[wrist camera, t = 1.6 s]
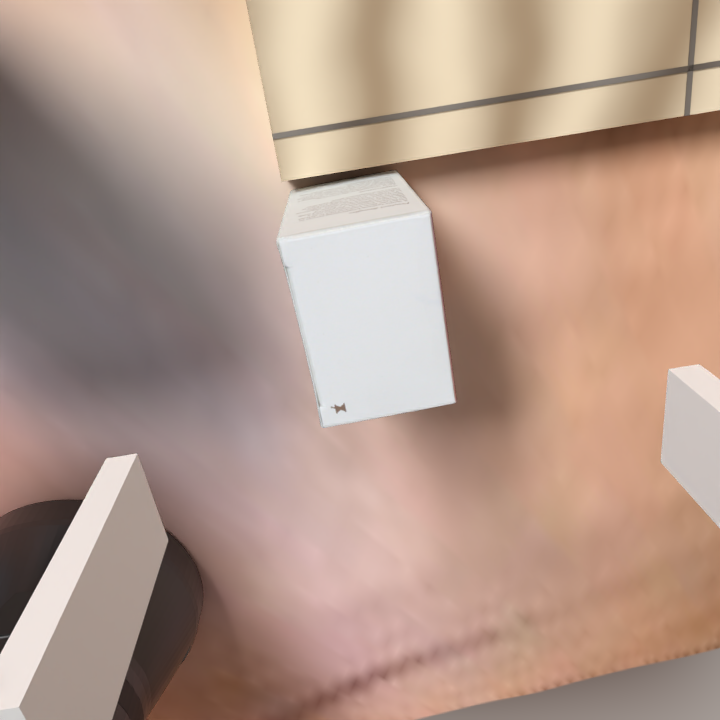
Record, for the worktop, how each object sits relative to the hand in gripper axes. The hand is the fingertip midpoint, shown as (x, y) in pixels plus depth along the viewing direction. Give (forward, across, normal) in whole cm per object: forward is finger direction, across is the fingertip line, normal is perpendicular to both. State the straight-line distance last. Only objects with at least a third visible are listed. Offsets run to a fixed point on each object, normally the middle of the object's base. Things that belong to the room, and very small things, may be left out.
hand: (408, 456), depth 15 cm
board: (+18, +8, +11) cm, 23 cm away
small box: (+19, 0, 0) cm, 19 cm away
